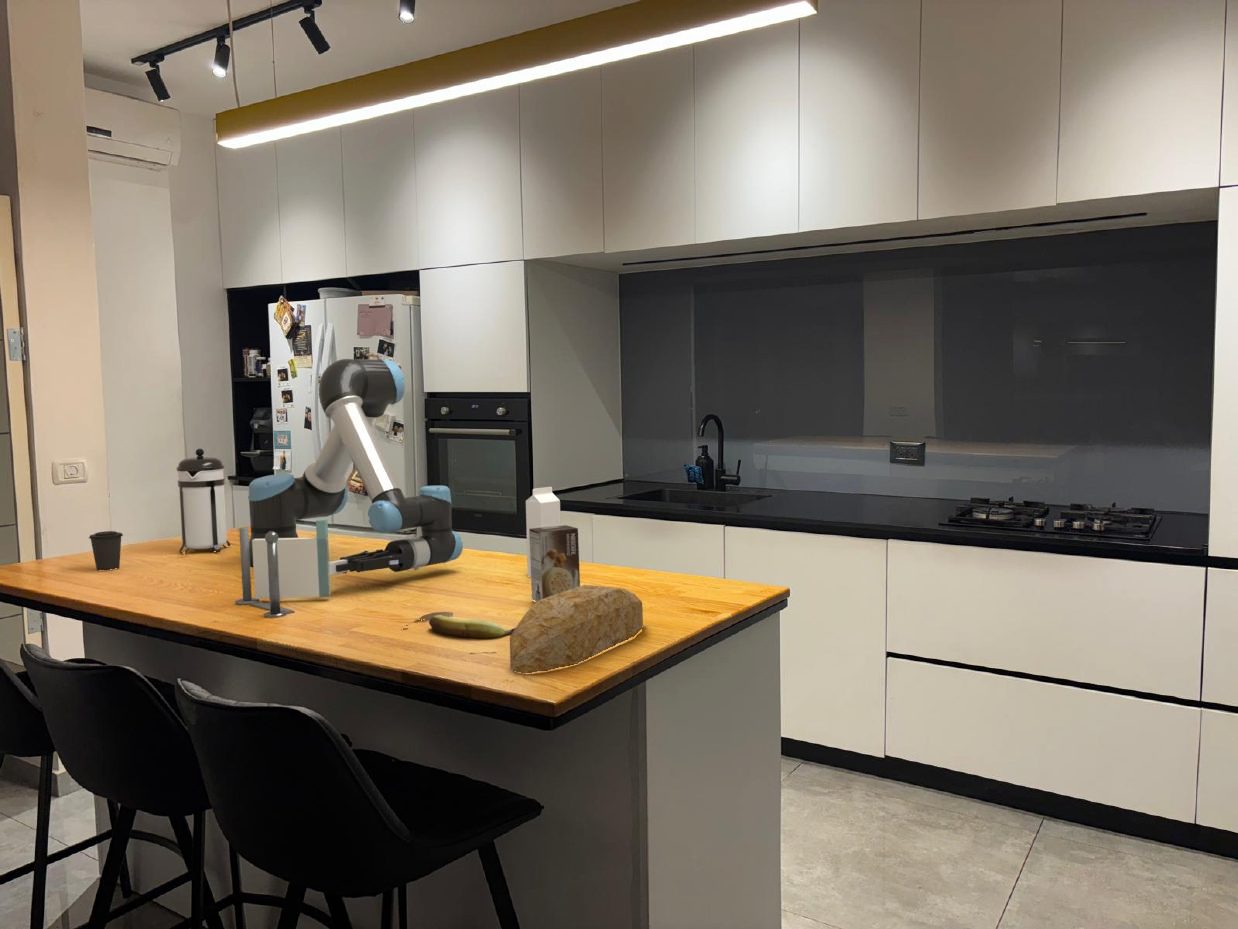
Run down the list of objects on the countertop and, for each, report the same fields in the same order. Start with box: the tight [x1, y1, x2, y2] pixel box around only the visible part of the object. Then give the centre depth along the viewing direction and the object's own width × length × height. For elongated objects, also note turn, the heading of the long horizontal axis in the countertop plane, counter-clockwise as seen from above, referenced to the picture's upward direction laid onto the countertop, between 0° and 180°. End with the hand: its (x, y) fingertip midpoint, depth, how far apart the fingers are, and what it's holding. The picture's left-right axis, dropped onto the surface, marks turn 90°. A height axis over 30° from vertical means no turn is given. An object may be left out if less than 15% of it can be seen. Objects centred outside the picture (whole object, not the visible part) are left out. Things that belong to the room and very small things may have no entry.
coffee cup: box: [88, 530, 124, 571], centre depth 251 cm, size 8×8×10 cm
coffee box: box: [529, 524, 581, 603], centre depth 205 cm, size 9×6×16 cm
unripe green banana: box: [402, 611, 516, 655], centre depth 180 cm, size 35×27×4 cm
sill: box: [234, 597, 295, 615], centre depth 205 cm, size 20×5×1 cm, turn 50°
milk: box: [525, 486, 561, 578], centre depth 231 cm, size 6×6×22 cm
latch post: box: [263, 531, 288, 618], centre depth 197 cm, size 4×4×18 cm
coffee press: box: [175, 448, 231, 554], centre depth 278 cm, size 17×16×30 cm
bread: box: [509, 584, 644, 673], centre depth 170 cm, size 36×11×10 cm, turn 148°
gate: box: [238, 518, 332, 601], centre depth 209 cm, size 19×2×17 cm, turn 92°
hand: (321, 570), depth 211 cm, fingers closed
